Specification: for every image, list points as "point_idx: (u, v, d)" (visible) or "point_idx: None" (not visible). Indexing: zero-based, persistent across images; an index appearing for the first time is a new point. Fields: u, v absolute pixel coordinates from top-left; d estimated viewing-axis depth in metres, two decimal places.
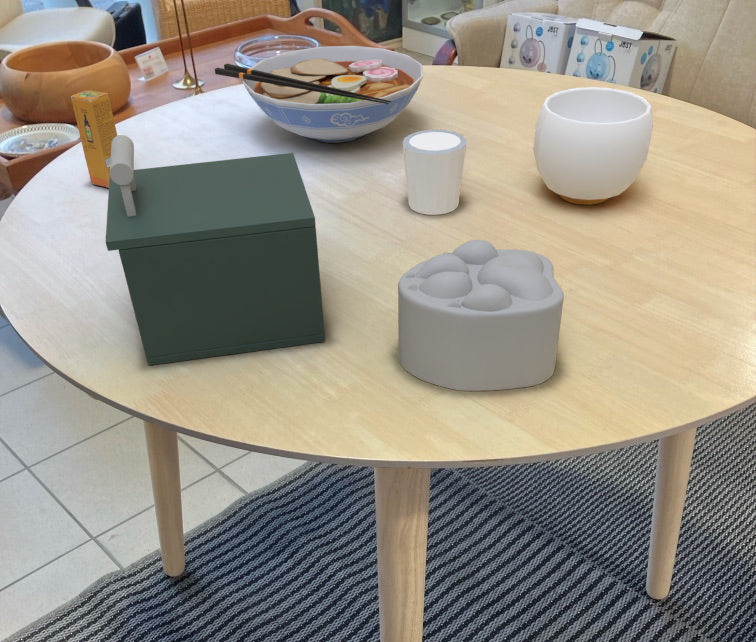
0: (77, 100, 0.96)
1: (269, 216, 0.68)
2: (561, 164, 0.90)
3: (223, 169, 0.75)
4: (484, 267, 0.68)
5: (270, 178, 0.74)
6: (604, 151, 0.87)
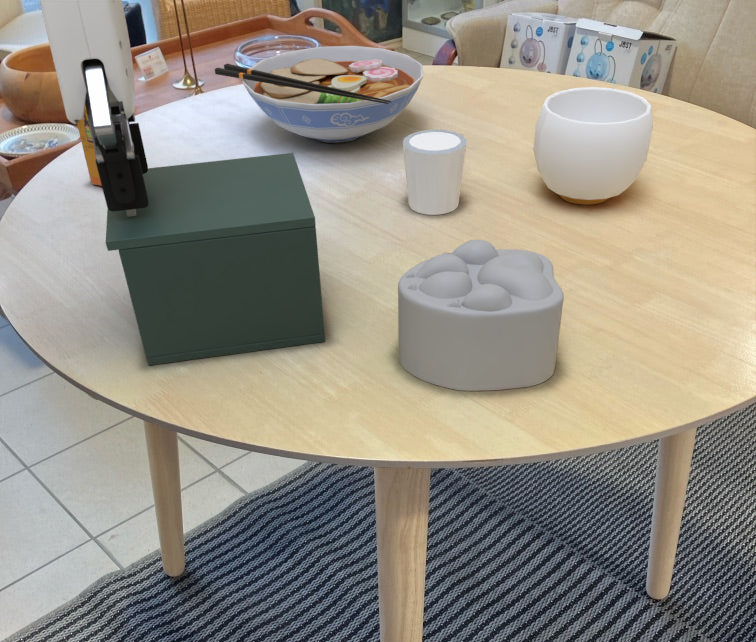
0: None
1: (269, 216, 0.68)
2: (561, 164, 0.90)
3: (223, 169, 0.75)
4: (484, 267, 0.68)
5: (270, 178, 0.74)
6: (604, 151, 0.87)
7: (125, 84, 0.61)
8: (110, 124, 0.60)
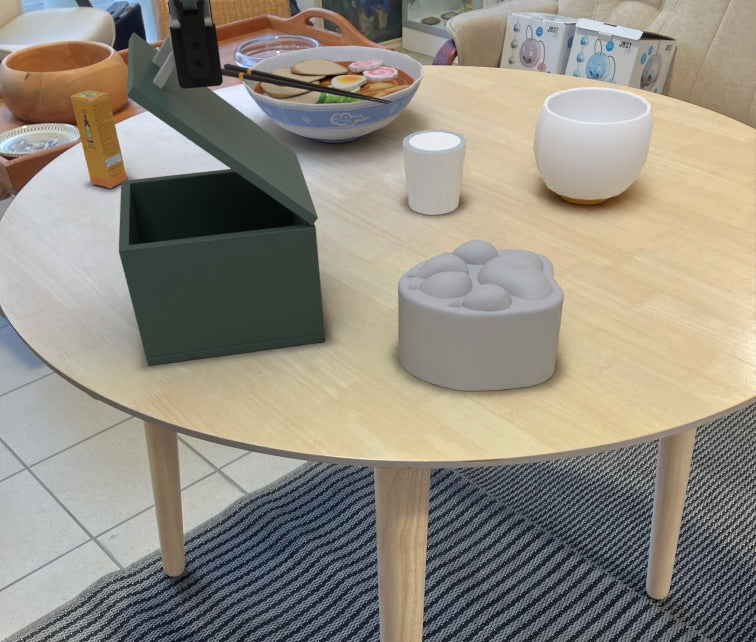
0: (77, 100, 0.96)
1: (281, 187, 0.67)
2: (561, 164, 0.90)
3: (238, 117, 0.73)
4: (484, 267, 0.68)
5: (278, 157, 0.73)
6: (604, 151, 0.87)
7: None
8: None
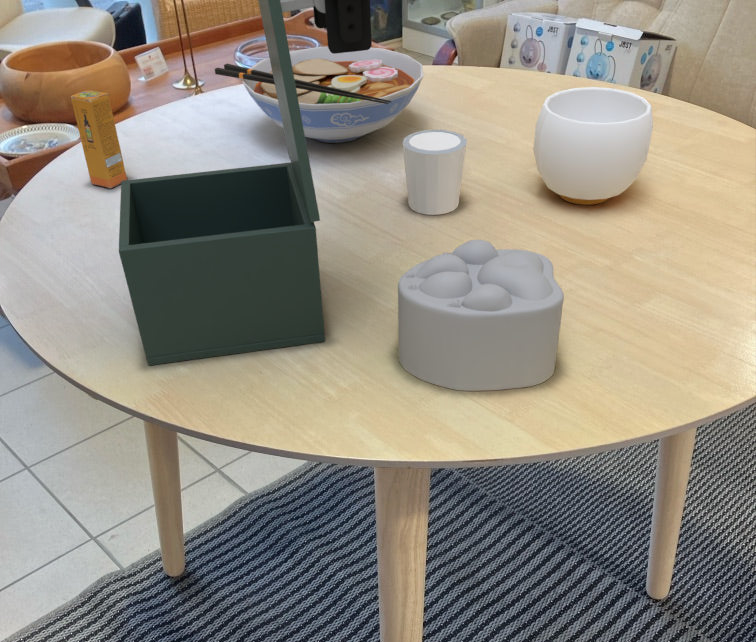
0: (77, 100, 0.96)
1: None
2: (561, 164, 0.90)
3: None
4: (484, 267, 0.68)
5: None
6: (604, 151, 0.87)
7: None
8: None
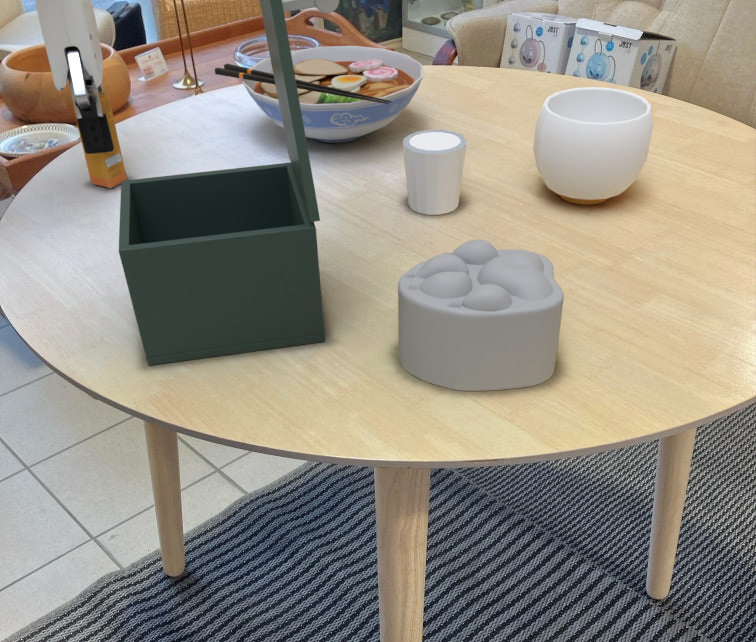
0: None
1: None
2: (561, 164, 0.90)
3: None
4: (484, 267, 0.68)
5: None
6: (604, 151, 0.87)
7: (94, 64, 0.90)
8: (85, 94, 0.90)
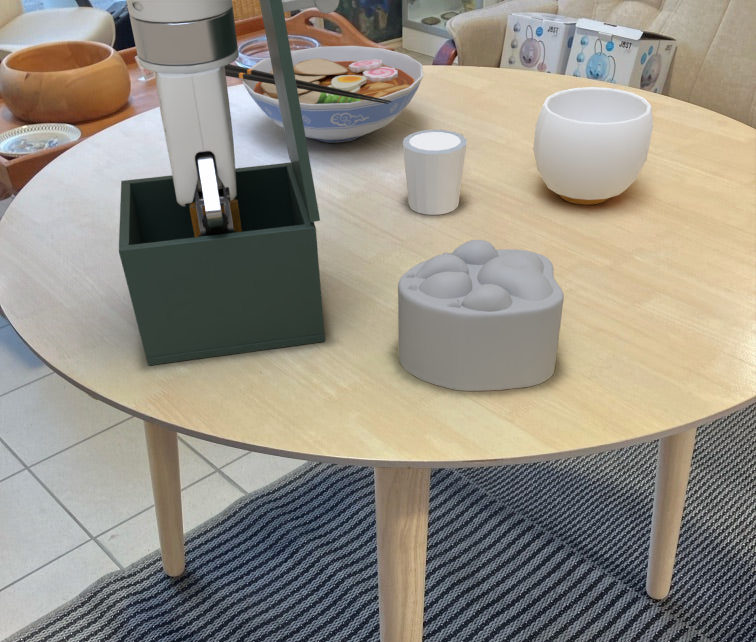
0: None
1: None
2: (561, 164, 0.90)
3: None
4: (484, 267, 0.68)
5: None
6: (604, 151, 0.87)
7: (232, 172, 0.66)
8: (220, 209, 0.65)
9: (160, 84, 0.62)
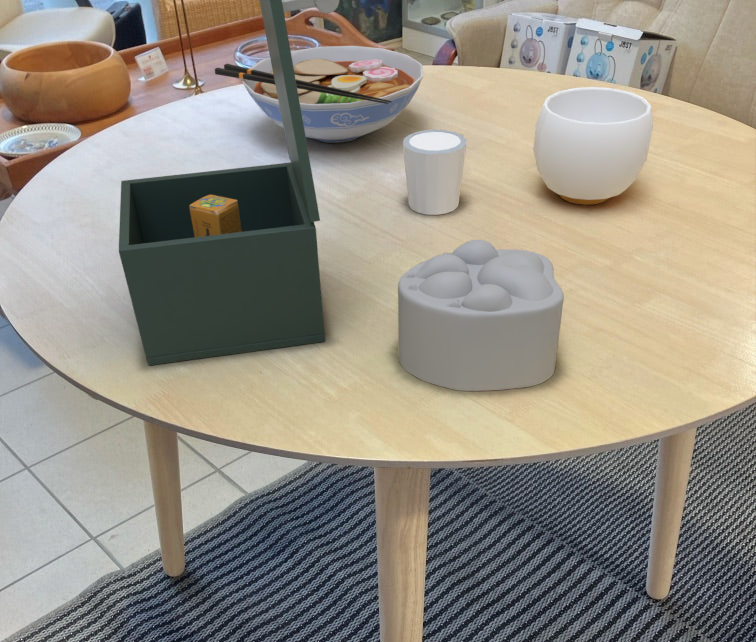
0: (198, 211, 0.72)
1: None
2: (561, 164, 0.90)
3: None
4: (484, 267, 0.68)
5: None
6: (604, 151, 0.87)
7: None
8: None
9: None
